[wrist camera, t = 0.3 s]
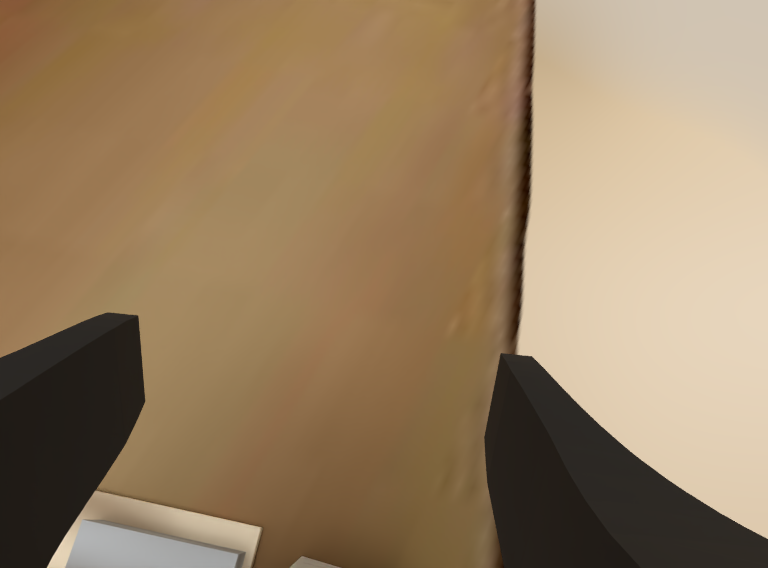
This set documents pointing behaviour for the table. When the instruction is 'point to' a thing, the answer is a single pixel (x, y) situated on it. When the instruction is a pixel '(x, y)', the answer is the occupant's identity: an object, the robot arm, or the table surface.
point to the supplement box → (310, 563)
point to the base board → (160, 522)
